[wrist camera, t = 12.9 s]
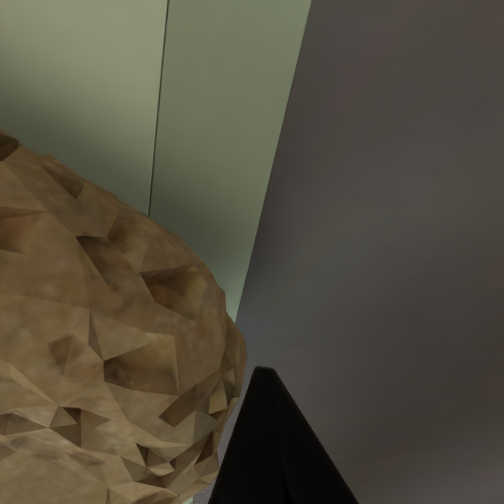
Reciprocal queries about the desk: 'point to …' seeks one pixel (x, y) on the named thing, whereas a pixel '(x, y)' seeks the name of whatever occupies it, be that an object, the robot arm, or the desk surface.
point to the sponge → (104, 346)
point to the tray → (159, 107)
